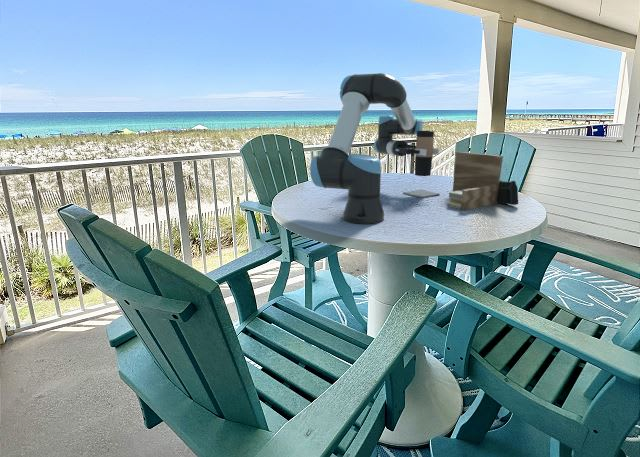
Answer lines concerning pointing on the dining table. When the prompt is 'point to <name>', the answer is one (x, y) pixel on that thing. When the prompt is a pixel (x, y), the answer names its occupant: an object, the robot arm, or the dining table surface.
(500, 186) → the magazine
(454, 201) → the offcut stack
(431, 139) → the travel mug
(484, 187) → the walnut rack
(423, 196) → the grey mat
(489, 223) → the dining table surface
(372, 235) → the dining table surface
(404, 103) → the robot arm
